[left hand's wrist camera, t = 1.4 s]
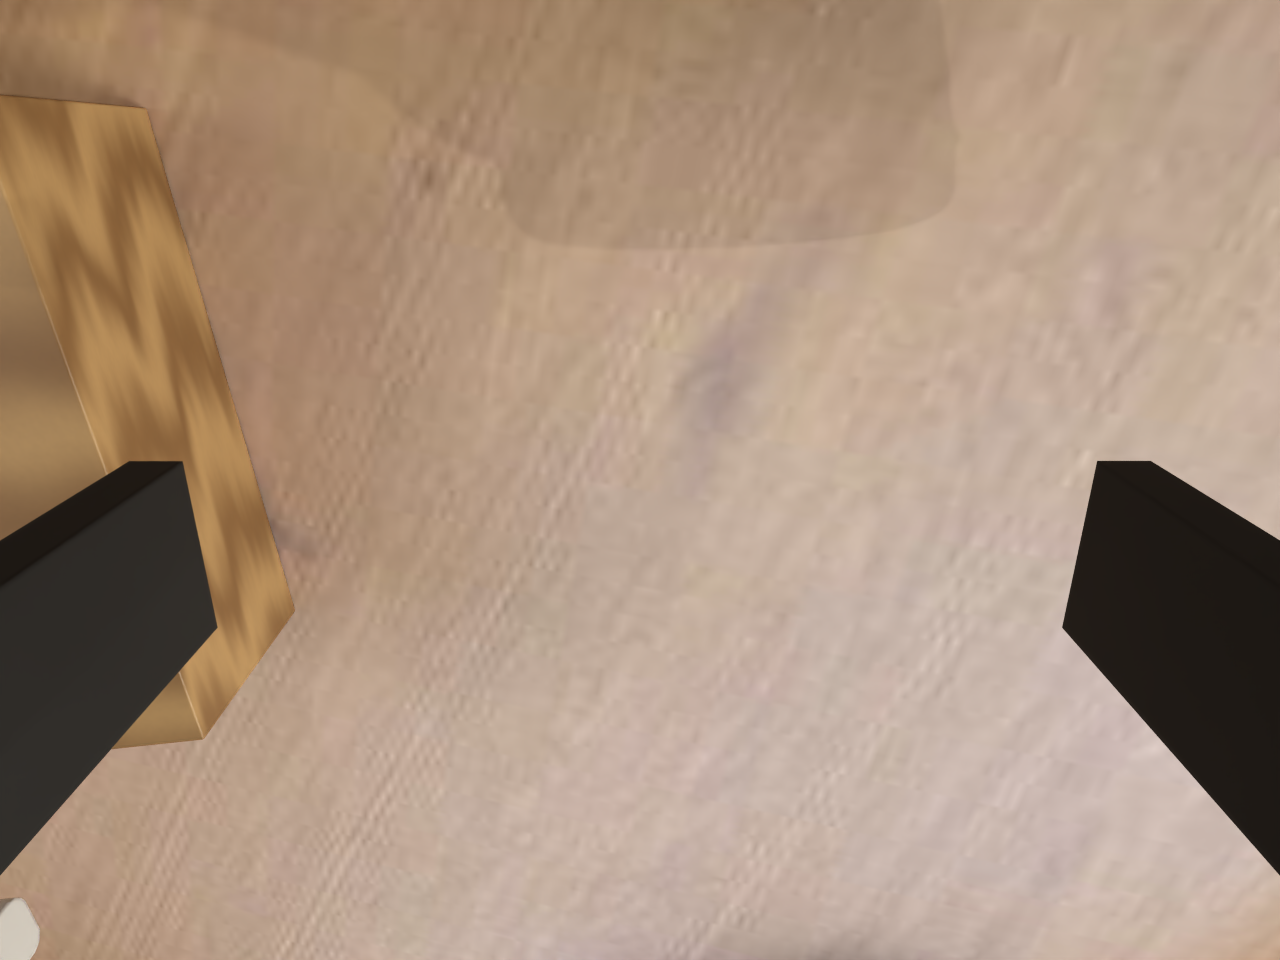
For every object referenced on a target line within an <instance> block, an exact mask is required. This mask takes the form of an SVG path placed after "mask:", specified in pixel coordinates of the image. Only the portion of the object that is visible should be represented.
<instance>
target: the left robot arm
mask: <svg viewBox="0 0 1280 960" xmlns="http://www.w3.org/2000/svg"><path fill="white" fill-rule="evenodd" d="M217 628H218V626H217V622H216V617H215V612H214V607H213V603H212V598H211V593H210V588H209V584H208V579H207V574H206V569H205V565H204V560H203V555H202V550H201V546H200V541H199V536H198V531H197V527H196V522H195V517H194V512H193V508H192V503H191V498H190V493H189V489H188V484H187V479H186V474H185V470H184V465H183V461H129V462H127V463H125V464H124V465H122V466H120V467H119V468H117V469H116V470H114V471H112V472H111V473H109V474H107V475H106V476H104V477H103V478H101V479H99V480H98V481H96V482H94V483H93V484H91V485H90V486H88V487H86V488H85V489H83V490H81V491H80V492H78V493H77V494H75V495H73V496H72V497H70V498H68V499H67V500H65V501H64V502H62V503H60V504H59V505H57V506H55V507H54V508H52V509H51V510H49V511H47V512H46V513H44V514H42V515H41V516H39V517H38V518H36V519H34V520H33V521H31V522H29V523H28V524H26V525H25V526H23V527H21V528H20V529H18V530H16V531H15V532H13V533H12V534H10V535H8V536H7V537H5V538H3V539H2V540H0V875H1V874H2V873H3V872H4V870H5V869H6V868H7V867H8V866H9V865H10V864H11V862H12V861H13V860H14V859H15V858H16V857H17V856H18V854H19V853H20V852H21V851H22V850H23V849H24V848H25V846H26V845H27V844H28V843H29V842H30V841H31V840H32V838H33V837H34V836H35V835H36V834H37V833H38V832H39V831H40V829H41V828H42V827H43V826H44V825H45V824H46V823H47V821H48V820H49V819H50V818H51V817H52V816H53V815H54V813H55V812H56V811H57V810H58V809H59V808H60V807H61V805H62V804H63V803H64V802H65V801H66V800H67V799H68V798H69V796H70V795H71V794H72V793H73V792H74V791H75V790H76V788H77V787H78V786H79V785H80V784H81V783H82V782H83V780H84V779H85V778H86V777H87V776H88V775H89V774H90V772H91V771H92V770H93V769H94V768H95V767H96V766H97V764H98V763H99V762H100V761H101V760H102V759H103V758H104V757H105V755H106V754H107V753H108V752H109V751H110V750H111V749H112V747H113V746H114V745H115V744H116V743H117V742H118V741H119V739H120V738H121V737H122V736H123V735H124V734H125V733H126V731H127V730H128V729H129V728H130V727H131V726H132V725H133V723H134V722H135V721H136V720H137V719H138V718H139V717H140V716H141V714H142V713H143V712H144V711H145V710H146V709H147V708H148V706H149V705H150V704H151V703H152V702H153V701H154V700H155V698H156V697H157V696H158V695H159V694H160V693H161V692H162V690H163V689H164V688H165V687H166V686H167V685H168V684H169V682H170V681H171V680H172V679H173V678H174V677H175V676H176V675H177V673H178V672H179V671H180V670H181V669H182V668H183V667H184V665H185V664H186V663H187V662H188V661H189V660H190V659H191V657H192V656H193V655H194V654H195V653H196V652H197V651H198V649H199V648H200V647H201V646H202V645H203V644H204V643H205V642H206V640H207V639H208V638H209V637H210V636H211V635H212V634H213V632H214V631H215V630H216V629H217ZM1062 628H1063V629H1064V630H1065V631H1066V632H1067V634H1068V635H1069V636H1070V637H1071V638H1072V639H1073V640H1074V642H1075V643H1076V644H1077V645H1078V646H1079V647H1080V648H1081V649H1082V651H1083V652H1084V653H1085V654H1086V655H1087V656H1088V657H1089V659H1090V660H1091V661H1092V662H1093V663H1094V664H1095V665H1096V667H1097V668H1098V669H1099V670H1100V671H1101V672H1102V673H1103V675H1104V676H1105V677H1106V678H1107V679H1108V680H1109V681H1110V683H1111V684H1112V685H1113V686H1114V687H1115V688H1116V689H1117V690H1118V692H1119V693H1120V694H1121V695H1122V696H1123V697H1124V698H1125V700H1126V701H1127V702H1128V703H1129V704H1130V705H1131V706H1132V708H1133V709H1134V710H1135V711H1136V712H1137V713H1138V714H1139V716H1140V717H1141V718H1142V719H1143V720H1144V721H1145V722H1146V723H1147V725H1148V726H1149V727H1150V728H1151V729H1152V730H1153V731H1154V733H1155V734H1156V735H1157V736H1158V737H1159V738H1160V739H1161V741H1162V742H1163V743H1164V744H1165V745H1166V746H1167V747H1168V749H1169V750H1170V751H1171V752H1172V753H1173V754H1174V755H1175V757H1176V758H1177V759H1178V760H1179V761H1180V762H1181V763H1182V764H1183V766H1184V767H1185V768H1186V769H1187V770H1188V771H1189V772H1190V774H1191V775H1192V776H1193V777H1194V778H1195V779H1196V780H1197V782H1198V783H1199V784H1200V785H1201V786H1202V787H1203V788H1204V790H1205V791H1206V792H1207V793H1208V794H1209V795H1210V796H1211V798H1212V799H1213V800H1214V801H1215V802H1216V803H1217V804H1218V805H1219V807H1220V808H1221V809H1222V810H1223V811H1224V812H1225V813H1226V815H1227V816H1228V817H1229V818H1230V819H1231V820H1232V821H1233V823H1234V824H1235V825H1236V826H1237V827H1238V828H1239V829H1240V831H1241V832H1242V833H1243V834H1244V835H1245V836H1246V837H1247V838H1248V840H1249V841H1250V842H1251V843H1252V844H1253V845H1254V846H1255V848H1256V849H1257V850H1258V851H1259V852H1260V853H1261V854H1262V856H1263V857H1264V858H1265V859H1266V860H1267V861H1268V862H1269V864H1270V865H1271V866H1272V867H1273V868H1274V869H1275V870H1276V872H1277V873H1278V874H1279V875H1280V540H1278V539H1277V538H1275V537H1273V536H1272V535H1270V534H1268V533H1267V532H1265V531H1264V530H1262V529H1260V528H1259V527H1257V526H1255V525H1254V524H1252V523H1251V522H1249V521H1247V520H1246V519H1244V518H1242V517H1241V516H1239V515H1238V514H1236V513H1234V512H1233V511H1231V510H1229V509H1228V508H1226V507H1225V506H1223V505H1221V504H1220V503H1218V502H1216V501H1215V500H1213V499H1212V498H1210V497H1208V496H1207V495H1205V494H1203V493H1202V492H1200V491H1199V490H1197V489H1195V488H1194V487H1192V486H1190V485H1189V484H1187V483H1186V482H1184V481H1182V480H1181V479H1179V478H1177V477H1176V476H1174V475H1173V474H1171V473H1169V472H1168V471H1166V470H1164V469H1163V468H1161V467H1160V466H1158V465H1156V464H1155V463H1153V462H1151V461H1097V465H1096V470H1095V474H1094V479H1093V484H1092V489H1091V493H1090V498H1089V503H1088V508H1087V512H1086V517H1085V522H1084V527H1083V531H1082V536H1081V541H1080V546H1079V550H1078V555H1077V560H1076V565H1075V569H1074V574H1073V579H1072V584H1071V588H1070V593H1069V598H1068V603H1067V607H1066V612H1065V617H1064V622H1063V626H1062Z"/></svg>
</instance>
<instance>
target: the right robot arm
mask: <svg viewBox="0 0 1280 960" xmlns="http://www.w3.org/2000/svg"><path fill="white" fill-rule="evenodd" d="M39 939H40V928H39V927H38V925H37V923H36V921H35V919H34V917H33V915H32V913H31V911H30V909H29V907H28V905H27V903H26V901H25V900H23V899H22V898H8V899H0V960H30V959H31V957H32V956H33V954H34V953H35V951H36V949H37V946H38V943H39Z"/></svg>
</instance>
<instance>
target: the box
mask: <svg viewBox="0 0 1280 960" xmlns="http://www.w3.org/2000/svg"><path fill="white" fill-rule="evenodd" d="M129 461H183V465H184V470H185V474H186V479H187V484H188V489H189V493H190V498H191V503H192V508H193V512H194V517H195V522H196V527H197V531H198V536H199V541H200V546H201V550H202V555H203V560H204V565H205V569H206V574H207V579H208V584H209V588H210V593H211V598H212V603H213V607H214V612H215V617H216V622H217V626H218V628H217V629H216V630H215V631H214V632H213V634H212V635H211V636H210V637H209V638H208V639H207V640H206V642H205V643H204V644H203V645H202V646H201V647H200V648H199V649H198V651H197V652H196V653H195V654H194V655H193V656H192V657H191V659H190V660H189V661H188V662H187V663H186V664H185V665H184V667H183V668H182V669H181V670H180V671H179V672H178V673H177V675H176V676H175V677H174V678H173V679H172V680H171V681H170V682H169V684H168V685H167V686H166V687H165V688H164V689H163V690H162V692H161V693H160V694H159V695H158V696H157V697H156V698H155V700H154V701H153V702H152V703H151V704H150V705H149V706H148V708H147V709H146V710H145V711H144V712H143V713H142V714H141V716H140V717H139V718H138V719H137V720H136V721H135V722H134V723H133V725H132V726H131V727H130V728H129V729H128V730H127V731H126V733H125V734H124V735H123V736H122V737H121V738H120V739H119V741H118V742H117V743H116V744H115V745H114V746H113V747H112V749H117V748H127V747H136V746H146V745H155V744H164V743H174V742H183V741H193V740H202V739H204V738H205V737H206V735H207V734H208V732H209V731H210V730H211V728H212V727H213V725H214V724H215V723H216V721H217V720H218V718H219V717H220V716H221V714H222V713H223V711H224V710H225V709H226V707H227V706H228V704H229V703H230V701H231V700H232V699H233V697H234V696H235V694H236V693H237V692H238V690H239V689H240V687H241V686H242V685H243V683H244V682H245V680H246V679H247V678H248V676H249V675H250V673H251V672H252V671H253V669H254V668H255V666H256V665H257V664H258V662H259V661H260V659H261V658H262V657H263V655H264V654H265V652H266V651H267V649H268V648H269V647H270V645H271V644H272V642H273V641H274V640H275V638H276V637H277V635H278V634H279V633H280V631H281V630H282V628H283V627H284V626H285V624H286V623H287V621H288V620H289V619H290V617H291V616H292V614H293V613H294V612H295V609H294V605H293V602H292V599H291V595H290V592H289V589H288V585H287V582H286V579H285V575H284V572H283V568H282V565H281V562H280V558H279V555H278V552H277V548H276V545H275V541H274V538H273V535H272V531H271V528H270V525H269V521H268V518H267V514H266V511H265V508H264V504H263V501H262V498H261V494H260V491H259V487H258V484H257V481H256V477H255V474H254V471H253V467H252V464H251V461H250V457H249V454H248V450H247V447H246V444H245V440H244V437H243V434H242V430H241V427H240V423H239V420H238V417H237V413H236V410H235V407H234V403H233V400H232V396H231V393H230V390H229V386H228V383H227V380H226V376H225V373H224V369H223V366H222V363H221V359H220V356H219V353H218V349H217V346H216V343H215V339H214V336H213V332H212V329H211V326H210V322H209V319H208V316H207V312H206V309H205V305H204V302H203V299H202V295H201V292H200V289H199V285H198V282H197V278H196V275H195V272H194V268H193V265H192V262H191V258H190V255H189V251H188V248H187V245H186V241H185V238H184V235H183V231H182V228H181V225H180V221H179V218H178V214H177V211H176V208H175V204H174V201H173V198H172V194H171V191H170V187H169V184H168V181H167V177H166V174H165V171H164V167H163V164H162V160H161V157H160V154H159V150H158V147H157V144H156V140H155V137H154V133H153V130H152V127H151V123H150V120H149V117H148V113H147V110H146V109H145V108H141V107H130V106H119V105H108V104H97V103H86V102H75V101H65V100H54V99H43V98H32V97H21V96H10V95H0V540H2V539H3V538H5V537H7V536H8V535H10V534H12V533H13V532H15V531H16V530H18V529H20V528H21V527H23V526H25V525H26V524H28V523H29V522H31V521H33V520H34V519H36V518H38V517H39V516H41V515H42V514H44V513H46V512H47V511H49V510H51V509H52V508H54V507H55V506H57V505H59V504H60V503H62V502H64V501H65V500H67V499H68V498H70V497H72V496H73V495H75V494H77V493H78V492H80V491H81V490H83V489H85V488H86V487H88V486H90V485H91V484H93V483H94V482H96V481H98V480H99V479H101V478H103V477H104V476H106V475H107V474H109V473H111V472H112V471H114V470H116V469H117V468H119V467H120V466H122V465H124V464H125V463H127V462H129Z"/></svg>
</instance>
